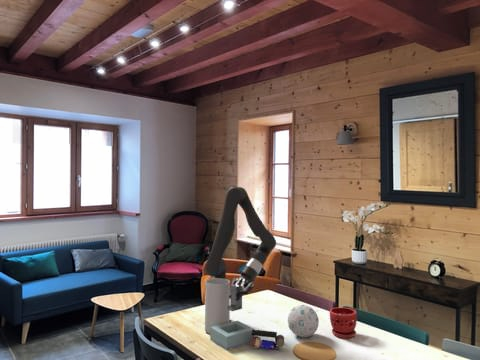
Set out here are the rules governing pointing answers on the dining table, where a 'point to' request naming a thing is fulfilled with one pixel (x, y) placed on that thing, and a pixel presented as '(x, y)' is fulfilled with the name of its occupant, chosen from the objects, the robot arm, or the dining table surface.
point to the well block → (231, 334)
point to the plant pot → (343, 322)
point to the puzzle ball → (303, 321)
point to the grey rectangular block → (233, 303)
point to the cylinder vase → (216, 302)
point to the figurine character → (266, 343)
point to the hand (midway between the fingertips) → (233, 298)
